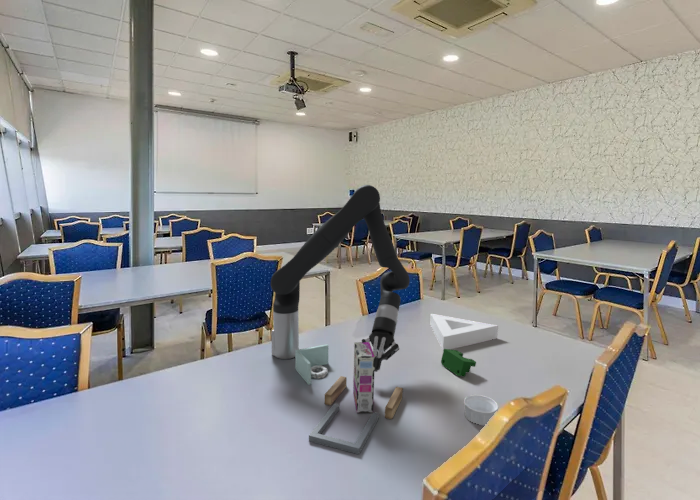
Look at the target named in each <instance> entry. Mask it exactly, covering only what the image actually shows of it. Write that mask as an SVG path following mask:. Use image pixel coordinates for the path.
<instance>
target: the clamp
mask: <svg viewBox="0 0 700 500" xmlns="http://www.w3.org/2000/svg"><path fill="white" fill-rule="evenodd" d="M440 363H441V365H442V366H443V367H444V368H445V369H447V370H449V371H450V372H451V373H452V374H454V375H456V376H457V377H465V376H466V375H467V373H470V371H471V367H474V368H475V367H476V365H477V361H475V360H474V359H472V358H467V357H464V354H463V353H462V352H460V351H459V350H456V349H455V350H454V349H444V351H443V350H442V356H441V360H440Z"/></svg>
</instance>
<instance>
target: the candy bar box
mask: <svg viewBox="0 0 700 500" xmlns="http://www.w3.org/2000/svg"><path fill="white" fill-rule="evenodd" d="M353 343H354V345H353V347H354V348H353V377H352V378H353V380H352V383H353V384H352V386H353V387H352V388H353V389H352V395H353V400H354V405H355V406H354V407H355V410H356V411H355V412H356V414H363V413H364V414H366V413H367V414H368V413H369V414H373V412H374V397H375V396H374V394H375V393H374V392H375V371H374V370H375V356H374V353H373V347H372V346H371V345H372V344H371V342H362V341H361V342H360V341H359V342H358V341H357V342H355V341H354V342H353Z"/></svg>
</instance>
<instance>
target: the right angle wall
mask: <svg viewBox="0 0 700 500" xmlns="http://www.w3.org/2000/svg"><path fill="white" fill-rule="evenodd" d="M294 358H295V371H296V372H297V373H298V374H299V375H300V376H301V378H302V379H303V380H304V381H305V382H306V384H307V385H308V386H309V385H312V378H313V379H321V378H322V379H323V378H325V377H326V376H327V375H328V368H327V367H325V365H329V344H328V343H326V344H321V345H316V346H310V347H306V348H301V349H300V348H299V350H295V357H294ZM323 365H324V366H323Z"/></svg>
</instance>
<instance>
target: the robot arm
mask: <svg viewBox="0 0 700 500" xmlns="http://www.w3.org/2000/svg"><path fill="white" fill-rule="evenodd" d="M380 202H381V196H380V192H379V190H378V189H377V188H376V187H374V186H373V185H370V184H364V185H361V186H359V187H357V189H356V190H355V191H354V193H353V194H352V195H351V197H350V198H349V199H348V200H347V202H346V203H345V204H344V205H343V206H342V207H341V209H339V210H338V212H336V213H335V214H334V215H332V216H331V217H330V218H328V220H326V221H324V223H323V224H322V225H320V226H319V227H318V228H317V229H316V230H315V231H314V232H313V234H311V236H310V237H309V238H308V239H307V240H306V241H305V242H304V244H303V245H302V246H301V247H300V248H299V250H298V251H297V252H296V253H295V255H294V256H293V257H292V258H291V259H290V260H289V261H288V262H286V264H284V265H283V266H282V267H280V268H279V269H277V270H276V271H275V272H274V273H273V274H272V276H271V278H270V288H271V290H272V291H273V293H275V294H274V300H273V304H272V308H273V309H272V313H273V315H272V316H273V318H272V319H273V329H272V330H271V335H270V337H271V356H274V357H275V358H277V359H280V360H289V359H293V358H295V350H299V349H300V348H299V347H300V346H299V344H300V340H299V339H300V337H299V336H300V335H299V333H300V332H299V331H300V328H299V326H300V325H299V321H300V320H299V305H300V297H301V296H300V292H301V291H300V288H301V287H300V284H301V280H302V279H303V278H304V277H305V275H306V274H307V273H308V272H310V270H312V269H313V268H315V267H316V266H317V265H318V264H320V263H321V262H322V261H323V260H324V259H326V258H327V257H328V256H329V255H330V254H332V252H333V251H335V249H336V248H337V247H338V246H339V245H340V244H341V243H342V242H343V241H344V240H345V238H346V237H347V236H348V235H349V233H350V232H351V230H352V229H353V228H354V227H355V226H356V225H357V224H358V223H359V222H360V221H362V219H364V221H365V223H366V226H367V229H368V232H369V236H370V241H371V244H372V247H373V251H374V253H375V256H376V259H377V262H378V264H379V266H380V267H382V268H385V269H389V270H390V271H387V272H384V273H383V274H382V276H380V280H379V284H380V285H379V286H380V299H379V302H378V307H377V310H376V313H375V317H374V321H373V323H372V324H373V326H372V329H371V333H370V334H369V335H368V337H367V338H366V339H364V338H362V339H361V342H370V345H372V346H371V347H372V351H373V353H374V356H375V370H374V373H377V372H379V371H380V369H381V366H382V362H383V361H384V360H385V361H387V360H389V359H390V358H391V357H393V356H394V355H395V354H396V353H397V352H398V351H399V350H400V346H399V344H398V343H396V342H395V341H396V340H395V334H396V329H397V324H398V319H399V310H400V306H401V299H402V298H401V296H400V295H399V294H398V293H396V292H395V291H402V290H405V289H407V288H408V287H409V286H410V281H411V280H410V275H409V273H408V271H407V270H406V268H405V267H404V265H403V264H402V262H401V261H400V259H399V258H398V255H397V252H396V250H395V247H394V244H393V241H392V238H391V235H390V234H389V232H388V229H387V227H386V223H385V221H384V217H383V215H382V210H381V203H380Z"/></svg>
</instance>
